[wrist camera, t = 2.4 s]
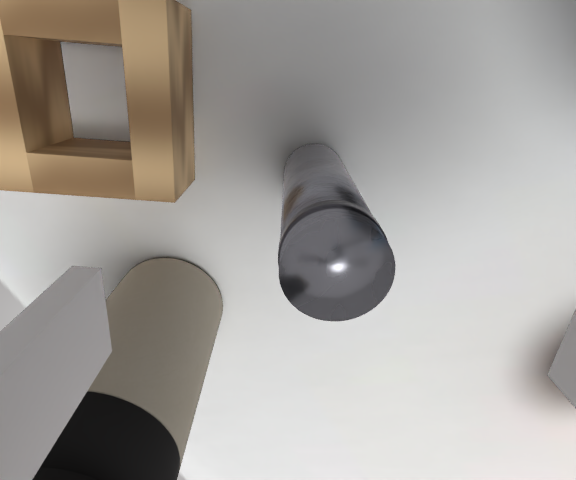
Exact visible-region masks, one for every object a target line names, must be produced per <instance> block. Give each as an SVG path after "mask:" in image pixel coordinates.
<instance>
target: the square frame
mask: <svg viewBox="0 0 576 480" xmlns="http://www.w3.org/2000/svg"><path fill="white" fill-rule="evenodd" d="M60 42H71V43H83V44H96V45H108V46H120V47H122V50H123V61H124V73H125V84H126V96H127V108H128V119H129V131H130V142H123V141H110V140H97V139H83V138H74V136H73V129H72V122H71V115H70V108H69V101H68V94H67V87H66V80H65V73H64V66H63V59H62V52H61V45H60ZM194 180H195V165H194V120H193V75H192V30H191V10H190V9H188V8H187V7H185V6H183V5H182V4H180V3H179V2H177V1H175V0H0V190H5V191H20V192H34V193H48V194H62V195H76V196H90V197H104V198H118V199H132V200H146V201H160V202H174V203H175V202H176V201H177V200H178V199H179V197H180V196H181V195H182V194H183V193H184V192H185V190H186V189H187V188H188V187H189V186H190V185H191V183H192V182H193V181H194Z"/></svg>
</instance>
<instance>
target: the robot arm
mask: <svg viewBox="0 0 576 480" xmlns="http://www.w3.org/2000/svg"><path fill="white" fill-rule="evenodd" d="M111 352H112V346H111V338H110V331H109V323H108V315H107V308H106V300H105V292H104V285H103V277H102V269H101V268H95V267H79V266H72V267H71V268H69V269H68V270H67V271H66V272H65V273H64V274H63V275H62V276H61V277H60V278H58V279H57V280H56V281H55V282H54V283H53V284H52V285H51V286H50V287H49V288H47V289H46V290H45V291H44V292H43V293H42V294H41V295H40V296H39V297H38V298H36V299H35V300H34V301H33V302H32V303H31V304H30V305H29V306H28V307H26V308H25V309H24V310H23V311H22V312H21V313H20V314H19V315H18V316H17V317H15V318H14V319H13V320H12V321H11V322H10V323H9V324H8V325H7V326H6V327H4V328H3V329H2V330H1V331H0V480H32V479H33V478H34V476H35V474H36V473H37V471H38V470H39V468H40V466H41V465H42V463H43V462H44V460H45V458H46V457H47V455H48V454H49V452H50V450H51V449H52V447H53V445H54V444H55V442H56V441H57V439H58V437H59V436H60V434H61V433H62V431H63V429H64V428H65V426H66V425H67V423H68V421H69V420H70V418H71V417H72V415H73V413H74V412H75V410H76V408H77V407H78V405H79V404H80V402H81V400H82V399H83V397H84V396H85V394H86V392H87V391H88V389H89V388H90V386H91V384H92V383H93V381H94V380H95V378H96V376H97V375H98V373H99V372H100V370H101V368H102V367H103V365H104V363H105V362H106V360H107V359H108V357H109V355H110V354H111ZM548 377H549V378H550V379H551V380H552V381H553V382H554V384H555V385H556V386H557V387H558V388H559V389H560V391H561V392H562V393H563V394H564V395H565V396H566V398H567V399H568V400H569V401H570V402H571V403H572V404H573V406H574V407H575V408H576V310H575V312H574V315H573V317H572V319H571V321H570V324H569V326H568V328H567V331H566V333H565V335H564V338H563V340H562V342H561V345H560V347H559V349H558V351H557V354H556V356H555V358H554V361H553V363H552V365H551V368H550V370H549V372H548Z"/></svg>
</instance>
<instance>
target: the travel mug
mask: <svg viewBox="0 0 576 480" xmlns="http://www.w3.org/2000/svg"><path fill="white" fill-rule="evenodd" d="M106 308H107V315H108V323H109V331H110V338H111V346H112V352H111V354H110V355H109V357H108V359H107V360H106V362H105V363H104V365H103V367H102V368H101V370H100V372H99V373H98V375H97V376H96V378H95V380H94V381H93V383H92V384H91V386H90V388H89V389H88V391H87V392H86V394H85V396H84V397H83V399H82V400H81V402H80V404H79V405H78V407H77V408H76V410H75V412H74V413H73V415H72V417H71V418H70V420H69V421H68V423H67V425H66V426H65V428H64V429H63V431H62V433H61V434H60V436H59V437H58V439H57V441H56V442H55V444H54V445H53V447H52V449H51V450H50V452H49V454H48V455H47V457H46V458H45V460H44V462H43V463H42V465H41V466H40V468H39V470H38V471H37V473H36V474H35V476H34V478H33V479H32V480H177V477H178V473H179V470H180V466H181V463H182V459H183V455H184V452H185V448H186V444H187V441H188V437H189V433H190V430H191V426H192V422H193V419H194V415H195V412H196V408H197V404H198V401H199V397H200V393H201V390H202V386H203V382H204V379H205V375H206V371H207V368H208V364H209V360H210V357H211V353H212V350H213V346H214V342H215V339H216V335H217V331H218V328H219V324H220V320H221V317H222V311H223V304H222V298H221V295H220V292H219V290H218V288H217V286H216V284H215V283H214V282H213V280H212V279H211V278H210V277H209V276H208V275H207V274H206V273H205V272H203V271H202V270H201V269H199V268H198V267H196V266H194V265H192V264H190V263H188V262H185V261H182V260H178V259H172V258H157V259H151V260H148V261H145V262H142V263H140V264H138V265H137V266H135V267H134V268H132V269H131V270H130V271H129V272H128V273H127V274H126V276H125V277H124V278H123V279H122V281H121V282H120V283H119V284H118V286H117V287H116V288H115V289H114V291H113V292H112V293H111V294H110V296H109V297H108V298H107V299H106Z"/></svg>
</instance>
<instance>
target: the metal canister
mask: <svg viewBox="0 0 576 480" xmlns="http://www.w3.org/2000/svg"><path fill="white" fill-rule="evenodd" d="M278 264H279V279H280V284H281V287H282V290H283V292H284V294H285V296H286V297H287V299H288V300H289V301H290V303H291V304H292V305H293V306H294V307H296V308H297V309H298V310H299V311H301V312H302V313H304V314H306V315H308V316H310V317H313V318H316V319H320V320H325V321H344V320H349V319H353V318H356V317H359V316H361V315H363V314H365V313H367V312H369V311H370V310H372V309H373V308H374V307H376V306H377V305H378V304H379V303H380V302H381V301H382V300H383V299H384V297H385V296H386V295H387V293H388V292H389V290H390V288H391V286H392V283H393V280H394V275H395V260H394V255H393V252H392V249H391V248H390V246H389V244H388V241H387V238H386V236H385V234H384V232H383V230H382V229H381V227H380V225H379V223H378V222H377V221H376V219H375V218H374V217H373V216H372V214H371V212H370V210H369V209H368V207H367V205H366V203H365V202H364V200H363V198H362V196H361V195H360V193H359V191H358V189H357V188H356V186H355V184H354V182H353V181H352V179H351V177H350V175H349V174H348V172H347V170H346V168H345V166H344V165H343V163H342V161H341V159H340V158H339V156H338V155H337V154H336V153H335V151H333V150H332V149H331V148H329V147H327V146H325V145H322V144H307V145H304V146H301V147H300V148H298V149H296V150H295V151H294V152H293V153H292V154H291V155H290V156H289V158H288V160H287V162H286V164H285V168H284V182H283V201H282V220H281V238H280V242H279V252H278Z"/></svg>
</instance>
